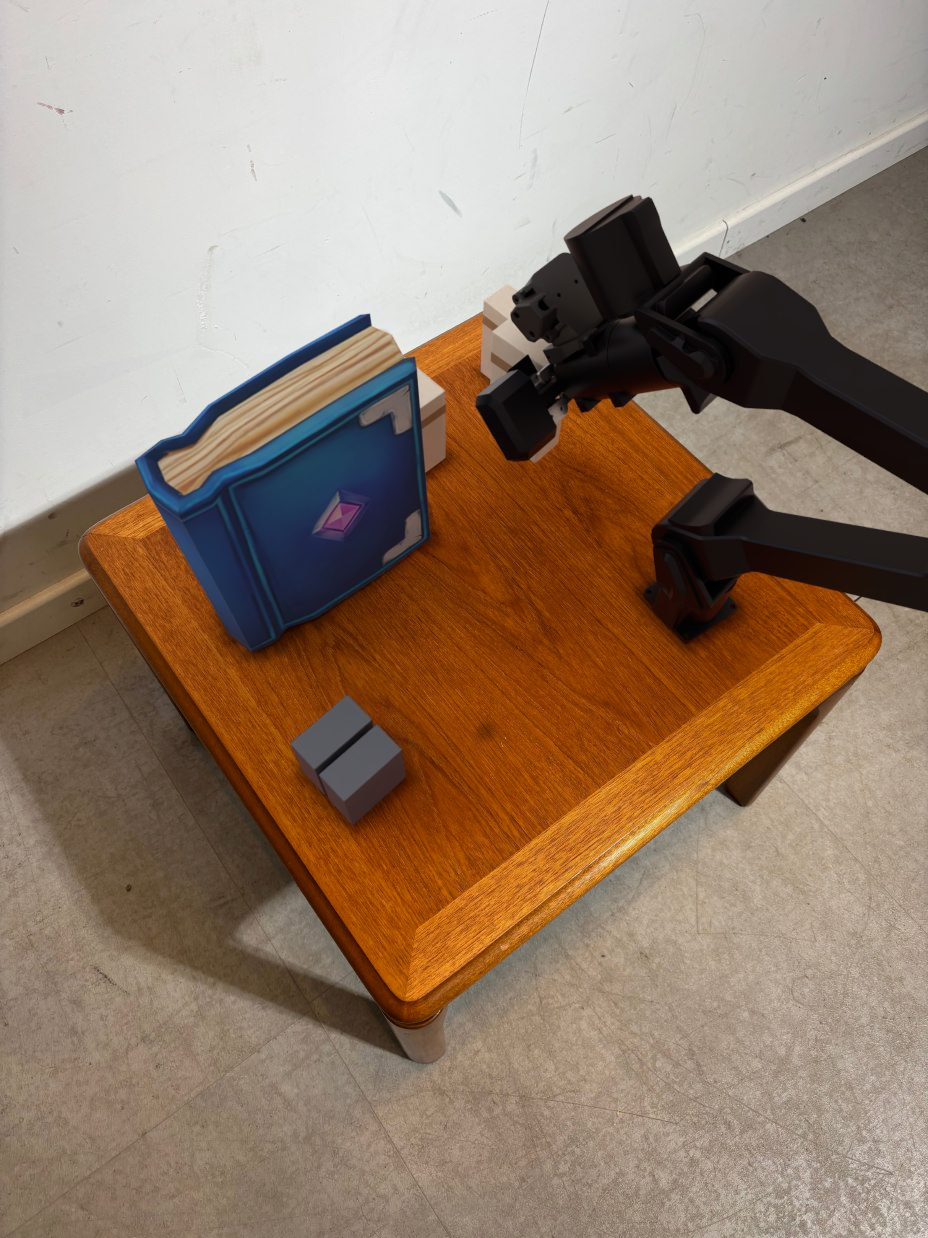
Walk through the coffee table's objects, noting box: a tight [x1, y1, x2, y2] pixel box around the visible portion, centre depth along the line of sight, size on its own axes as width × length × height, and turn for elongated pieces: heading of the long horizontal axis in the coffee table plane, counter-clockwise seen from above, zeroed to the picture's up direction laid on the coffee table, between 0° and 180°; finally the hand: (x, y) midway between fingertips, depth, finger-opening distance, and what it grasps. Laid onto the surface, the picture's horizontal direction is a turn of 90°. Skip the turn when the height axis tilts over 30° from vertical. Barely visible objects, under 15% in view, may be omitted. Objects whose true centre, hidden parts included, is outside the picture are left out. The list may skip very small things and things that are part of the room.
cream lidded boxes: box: [404, 283, 519, 474], centre depth 90 cm, size 6×17×10 cm, turn 133°
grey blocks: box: [289, 694, 407, 826], centre depth 73 cm, size 6×6×7 cm
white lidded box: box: [489, 317, 563, 464], centre depth 80 cm, size 6×3×12 cm, turn 47°
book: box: [134, 313, 432, 654], centre depth 74 cm, size 22×7×25 cm, turn 129°
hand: (517, 379), depth 80 cm, fingers closed on white lidded box, 3 cm apart
